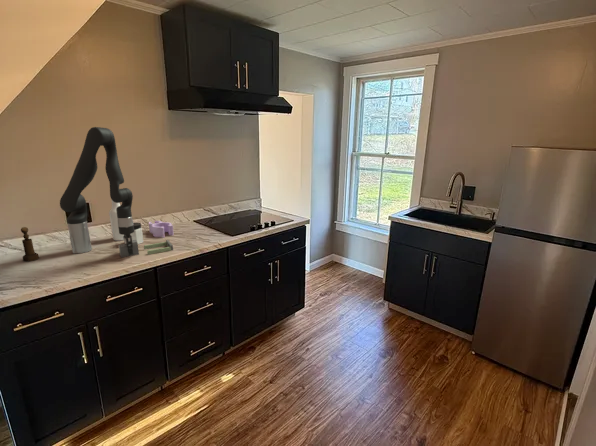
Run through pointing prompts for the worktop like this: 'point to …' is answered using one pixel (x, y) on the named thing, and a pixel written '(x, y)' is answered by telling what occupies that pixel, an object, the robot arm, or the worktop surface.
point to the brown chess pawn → (28, 247)
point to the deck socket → (169, 248)
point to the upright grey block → (124, 249)
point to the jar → (137, 233)
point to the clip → (160, 228)
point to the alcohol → (115, 222)
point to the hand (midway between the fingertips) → (129, 252)
